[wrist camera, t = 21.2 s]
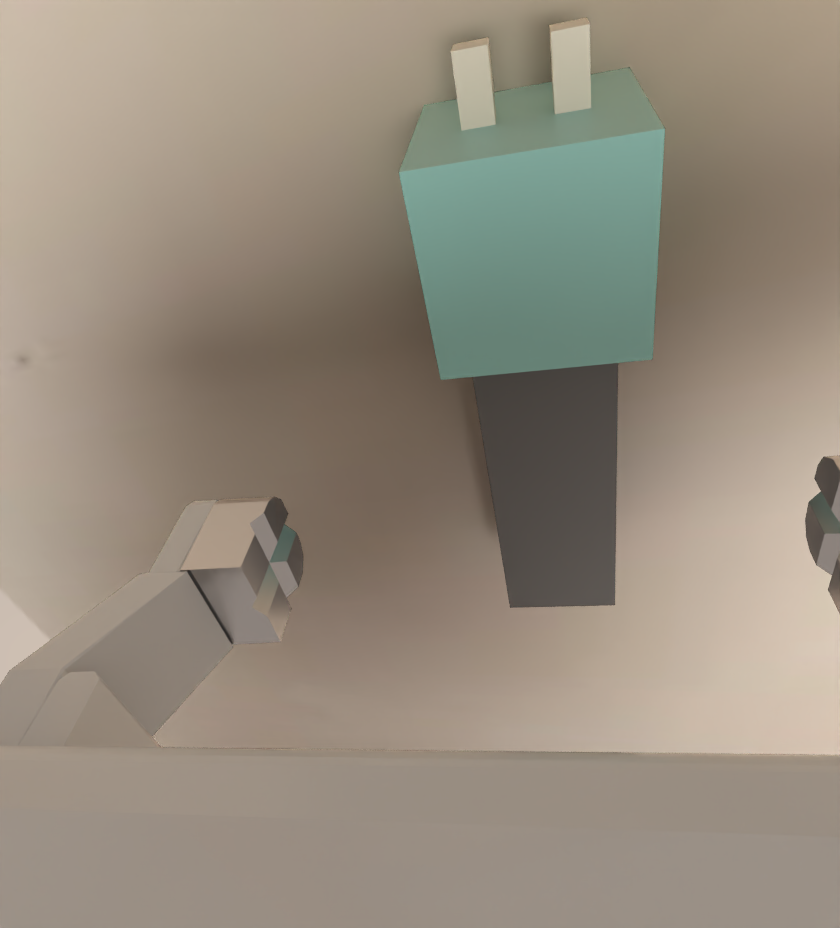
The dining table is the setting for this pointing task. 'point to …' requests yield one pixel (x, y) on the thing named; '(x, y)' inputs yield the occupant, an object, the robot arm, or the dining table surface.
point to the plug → (542, 292)
